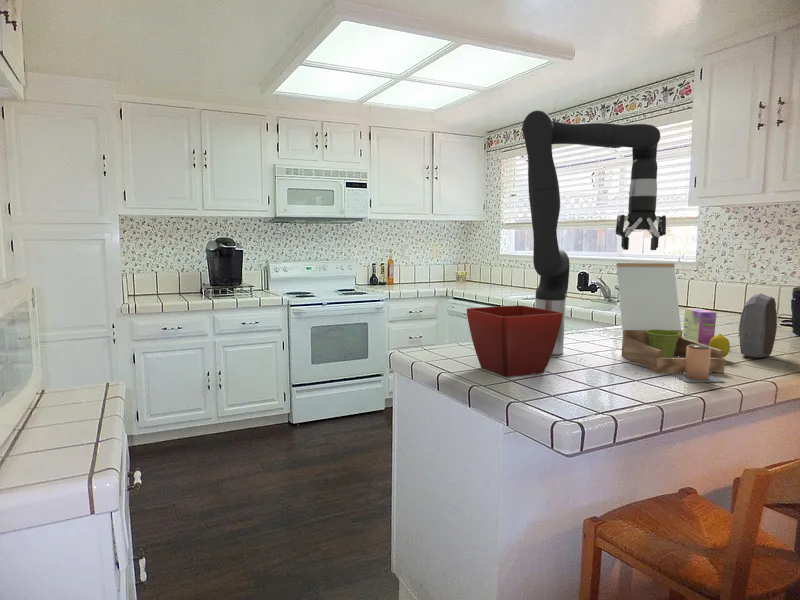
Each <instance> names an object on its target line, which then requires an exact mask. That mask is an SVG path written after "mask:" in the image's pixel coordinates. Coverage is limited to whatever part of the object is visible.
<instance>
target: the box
mask: <svg viewBox="0 0 800 600" xmlns="http://www.w3.org/2000/svg"><path fill="white" fill-rule="evenodd" d="M716 322H717V312H715V311H711V310H708V309H704V308H697V307H696V308H694V307H693V308H692V307H691V308H690V307H685V308H684V318H683V330H682V331H683V333H682V338H685V339H689V340H692V341H695V342H698V343H701V344H704V345H707V346H709V343H710V340H711V339H712V338H713V337H714V336H715V334H716V333H715V330H716V325H717V324H716Z"/></svg>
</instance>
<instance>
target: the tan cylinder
mask: <svg viewBox="0 0 800 600" xmlns="http://www.w3.org/2000/svg"><path fill="white" fill-rule="evenodd" d="M710 356H711V348H709V347H708V346H705V345H696V344H691V345H688V346H687V348H686V362H685V373H684V374H685V377H686V378H689V379H694V380H708V379H709V375H710V373H709V369H710Z"/></svg>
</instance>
